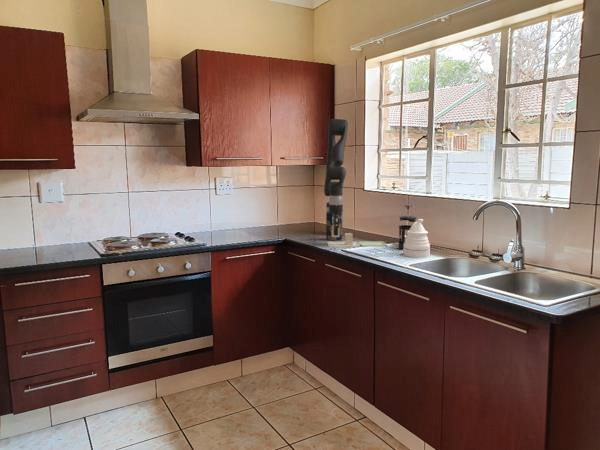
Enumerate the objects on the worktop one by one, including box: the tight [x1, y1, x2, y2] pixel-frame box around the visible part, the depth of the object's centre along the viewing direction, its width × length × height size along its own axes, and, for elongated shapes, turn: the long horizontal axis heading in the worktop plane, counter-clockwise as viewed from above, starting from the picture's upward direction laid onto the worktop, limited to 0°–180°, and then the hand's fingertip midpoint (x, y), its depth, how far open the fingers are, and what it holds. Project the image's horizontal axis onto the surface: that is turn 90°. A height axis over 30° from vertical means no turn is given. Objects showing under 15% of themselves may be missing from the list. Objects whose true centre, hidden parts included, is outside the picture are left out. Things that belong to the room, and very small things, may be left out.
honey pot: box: [402, 218, 431, 259], centre depth 236 cm, size 13×13×18 cm
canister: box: [325, 211, 343, 242], centre depth 280 cm, size 10×10×18 cm
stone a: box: [331, 225, 340, 237], centre depth 263 cm, size 4×4×6 cm
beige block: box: [343, 232, 354, 245], centre depth 264 cm, size 4×4×6 cm
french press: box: [397, 205, 417, 251], centre depth 253 cm, size 12×9×23 cm
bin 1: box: [326, 241, 361, 248], centre depth 264 cm, size 12×17×1 cm
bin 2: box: [357, 240, 389, 248], centre depth 265 cm, size 12×14×1 cm
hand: (335, 234), depth 264 cm, fingers closed on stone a, 4 cm apart
